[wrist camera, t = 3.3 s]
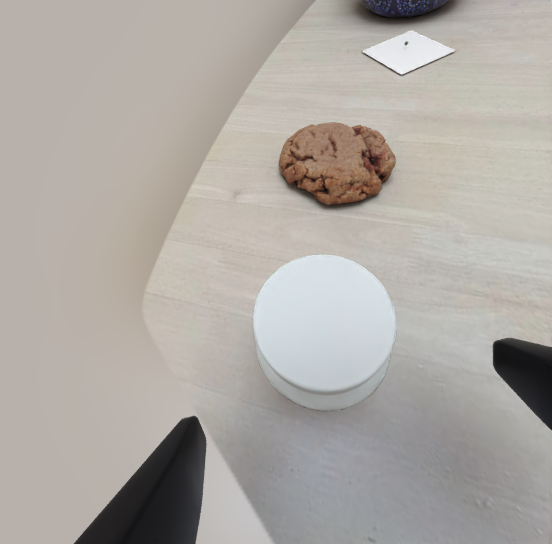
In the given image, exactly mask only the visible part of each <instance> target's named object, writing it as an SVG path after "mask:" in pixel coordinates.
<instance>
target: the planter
mask: <svg viewBox="0 0 552 544" xmlns="http://www.w3.org/2000/svg"><path fill="white" fill-rule="evenodd" d="M447 1H448V0H362V2H363V3H364V5H365V6H366V7H367V8H368V9H369V10H370V11H371V12H373V13H376V14H378V15H381V16H385V17H396V18H400V17H411V16H417V15H421V14H424V13H427V12H430V11H432V10H434V9H436V8H438V7H440V6H441V5H443V4H444V3H445V2H447Z"/></svg>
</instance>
